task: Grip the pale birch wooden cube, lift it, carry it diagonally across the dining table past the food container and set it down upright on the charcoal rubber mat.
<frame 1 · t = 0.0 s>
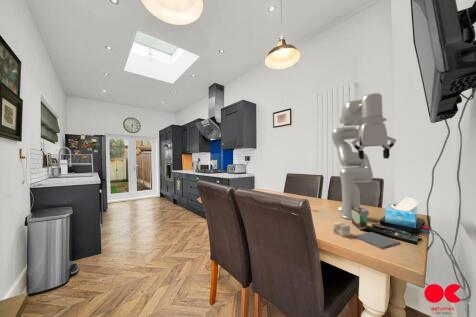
hand: (373, 158, 82), 37 cm above the table, tool pointing down, fingers open, 9 cm apart
birch cube: (341, 234, 89), on the table
charcoal mat: (376, 240, 82), on the table
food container: (362, 227, 97), on the table
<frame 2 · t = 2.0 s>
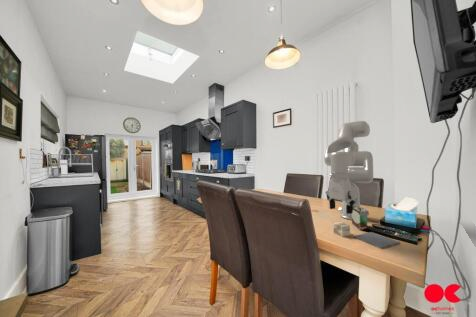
hand: (340, 210, 89), 12 cm above the table, tool pointing down, fingers open, 9 cm apart
nothing on the table moved.
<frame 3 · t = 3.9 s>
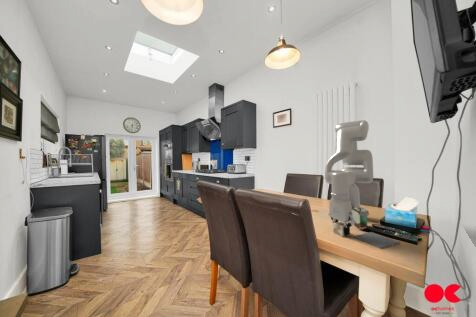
hand: (341, 232, 89), 1 cm above the table, tool pointing down, fingers closed on birch cube, 5 cm apart
birch cube: (341, 234, 89), on the table, touching gripper
everything else where it was.
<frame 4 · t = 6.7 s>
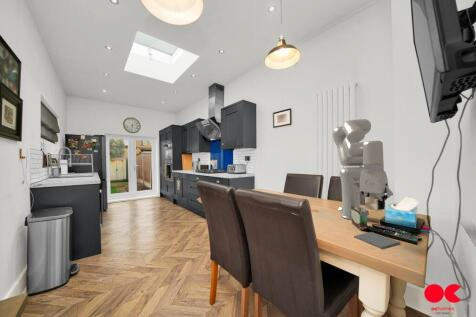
hand: (374, 207, 82), 15 cm above the table, tool pointing down, fingers closed on birch cube, 5 cm apart
birch cube: (374, 208, 82), point 14 cm above the table, touching gripper
everything else where it was.
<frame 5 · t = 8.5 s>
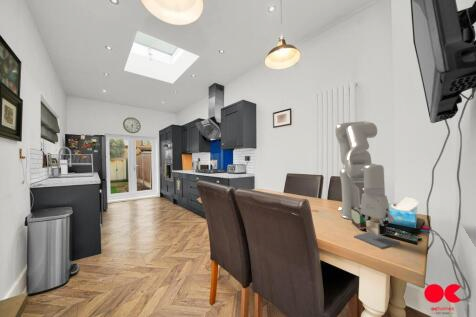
hand: (375, 231, 81), 4 cm above the table, tool pointing down, fingers closed on birch cube, 5 cm apart
birch cube: (375, 232, 81), point 4 cm above the table, touching gripper
everything else where it was.
when the fingers open (3 cm above the table, at t = 9.7 s): birch cube drops 1 cm, resting on charcoal mat.
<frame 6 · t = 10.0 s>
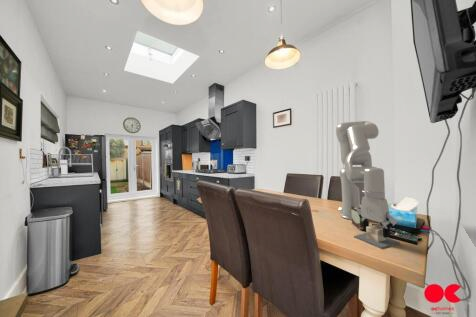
hand: (375, 232, 82), 3 cm above the table, tool pointing down, fingers open, 8 cm apart
birch cube: (375, 238, 82), point 1 cm above the table, touching charcoal mat
everything else where it was.
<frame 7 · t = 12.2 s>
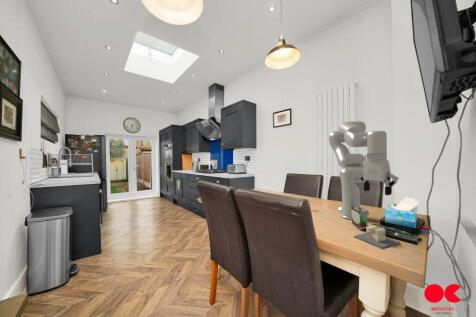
hand: (376, 192, 86), 21 cm above the table, tool pointing down, fingers open, 9 cm apart
nothing on the table moved.
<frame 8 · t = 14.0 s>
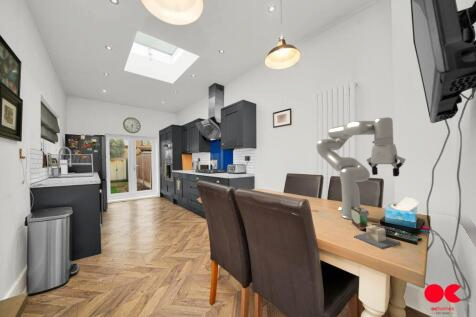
hand: (384, 175, 92), 28 cm above the table, tool pointing down, fingers open, 9 cm apart
nothing on the table moved.
at the end: birch cube inside the target area on the charcoal mat (0.0 cm from its centre), point 0.6 cm above the charcoal mat's base; birch cube tilted 0°; the gripper is holding nothing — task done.
